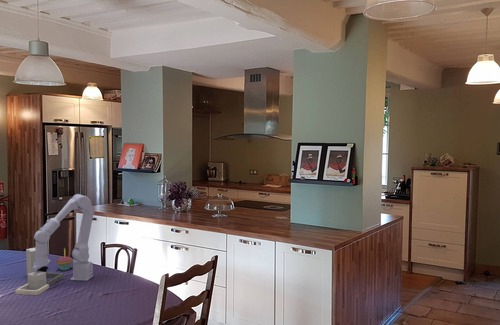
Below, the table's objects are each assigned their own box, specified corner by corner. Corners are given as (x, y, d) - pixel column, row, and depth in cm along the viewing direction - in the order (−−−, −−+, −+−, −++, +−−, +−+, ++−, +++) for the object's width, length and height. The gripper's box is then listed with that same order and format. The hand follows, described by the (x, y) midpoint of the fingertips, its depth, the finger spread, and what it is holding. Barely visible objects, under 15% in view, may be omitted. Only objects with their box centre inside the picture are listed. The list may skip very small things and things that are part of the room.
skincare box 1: (43, 277, 235) (43, 249, 235) (31, 279, 231) (31, 251, 231) (37, 273, 241) (37, 246, 241) (25, 275, 237) (25, 248, 237)
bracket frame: (49, 288, 218) (48, 284, 218) (37, 295, 208) (37, 291, 208) (27, 287, 219) (27, 283, 219) (15, 294, 209) (15, 290, 209)
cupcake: (56, 268, 253) (56, 247, 252) (72, 266, 256) (72, 245, 256) (56, 272, 245) (56, 250, 244) (73, 270, 249) (73, 249, 248)
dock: (63, 277, 235) (63, 273, 235) (48, 287, 220) (48, 282, 220) (43, 277, 236) (43, 272, 235) (27, 286, 221) (27, 281, 220)
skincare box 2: (38, 284, 222) (37, 270, 222) (47, 286, 220) (46, 271, 219) (27, 288, 217) (26, 274, 216) (36, 290, 215) (36, 275, 214)
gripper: (40, 250, 230) (40, 276, 230) (26, 258, 215) (25, 285, 216) (54, 251, 229) (54, 277, 230) (40, 258, 215) (40, 286, 216)
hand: (41, 281), depth 223 cm, fingers closed, pressing on skincare box 2
